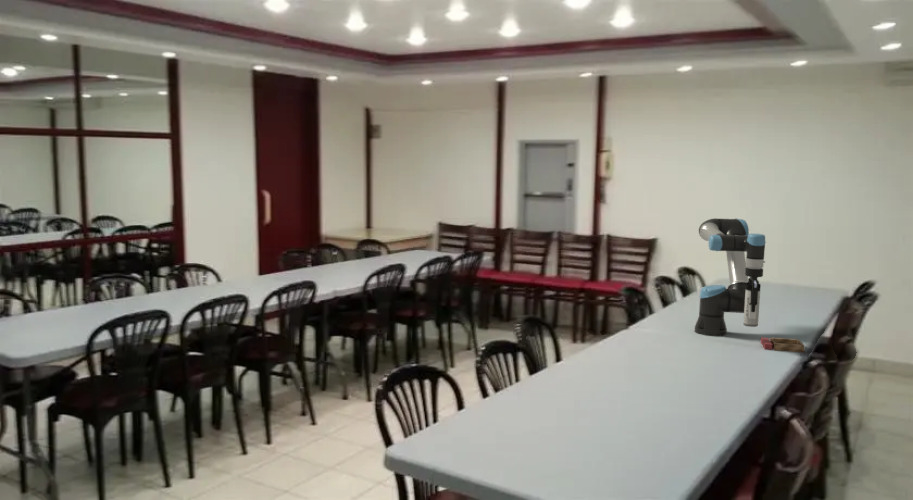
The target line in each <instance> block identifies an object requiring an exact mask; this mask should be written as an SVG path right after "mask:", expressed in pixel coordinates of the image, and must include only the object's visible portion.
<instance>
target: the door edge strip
mask: <svg viewBox="0 0 913 500" xmlns="http://www.w3.org/2000/svg"><path fill="white" fill-rule="evenodd" d="M760 344H761V346H762V345H763V346H762V348H763V349H764V350H766V351H767V350H768V351H772V350H773V349H772V343H771V342H770V338H768V337H760Z"/></svg>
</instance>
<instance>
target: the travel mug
mask: <svg viewBox="0 0 913 500" xmlns="http://www.w3.org/2000/svg"><path fill="white" fill-rule="evenodd" d="M761 286H762V285H761V283H759V286H758V300H757V303H758V304H757V305H756V319H749V310H750V305H749V303H751V290H750V287H751V289H752V286H750V284H749V283H746V293H745V308H744V313H743V322H742V323H743V326H745V327H750V328H755V327H758V326H759V316H760V299H761Z"/></svg>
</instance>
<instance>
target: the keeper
mask: <svg viewBox="0 0 913 500" xmlns="http://www.w3.org/2000/svg"><path fill="white" fill-rule="evenodd" d="M769 340H770V342H771V343H772V350H773V351H775V352H776V351H777V352H790V353H806V350H805V344H804V343H803V342H802V341H801V340H800V339H797V338H796V339H795V338H781V337H770V338H769Z"/></svg>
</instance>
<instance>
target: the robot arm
mask: <svg viewBox="0 0 913 500" xmlns="http://www.w3.org/2000/svg"><path fill="white" fill-rule="evenodd" d="M748 225H749V224H748V223H747V221H746V220H744V219H743V218H742V219H741V218H715V217H714V218H710V219H707V220H705V221H703V222H702V223H701V224H700V226H699V228H698V234H699V237H701V239H703V240H704V241H707V242H708V249H709V251H713V252H714V251H715V252H725V253H726V259H727V260H726V261H727V269H728V278H729V279H728V280H729V285H728V286H727V287H726V286H725V285H722V284H712V285H706V286H703V287H701V288H700V292H699V308H698V310H699V311H698V318H697V321H696V322H695V325H694V332H695V333H697V334H701V335H702V336H703V335H704V336H712V337H713V336H714V337H715V336H716V337H719V336H726V335H727V334H728V328H727V325H726V321H725V313H731V314H732V313H734V314H735V313H736V314H737V313H739V314H744V308H745V293H746V283H749V284H750V286H752V289H751V287H750V290H751V303H749V305H750V310H749V319H756V305H757V304H758V303H757V300H758V286H759V284H760V281H759V279H758V278H762V277H764V264H765V263H766V261H765V248H766V243H767V242H766V235H765V234H763V233H749V231H750V228H749V226H748ZM745 253H746V255H745Z"/></svg>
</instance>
